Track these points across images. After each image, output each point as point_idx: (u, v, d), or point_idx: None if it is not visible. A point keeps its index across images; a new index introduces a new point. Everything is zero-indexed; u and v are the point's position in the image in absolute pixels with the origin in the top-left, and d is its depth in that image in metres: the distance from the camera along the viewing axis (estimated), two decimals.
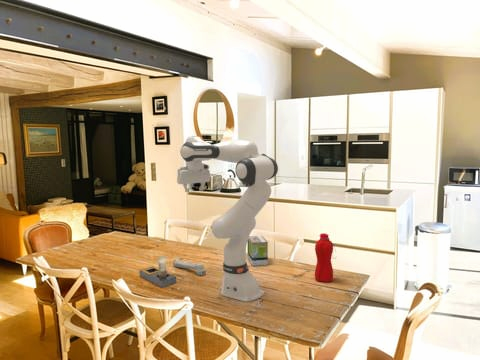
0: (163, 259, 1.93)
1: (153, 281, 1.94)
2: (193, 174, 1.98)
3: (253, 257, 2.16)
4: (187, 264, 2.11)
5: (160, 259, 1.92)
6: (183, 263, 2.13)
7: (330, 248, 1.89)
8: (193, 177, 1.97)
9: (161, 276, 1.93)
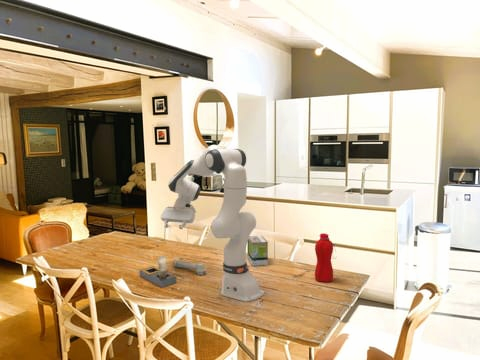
0: (163, 259, 1.93)
1: (153, 281, 1.94)
2: (175, 212, 2.09)
3: (253, 257, 2.16)
4: (187, 264, 2.11)
5: (160, 259, 1.92)
6: (183, 263, 2.13)
7: (330, 248, 1.89)
8: (174, 214, 2.08)
9: (161, 276, 1.93)
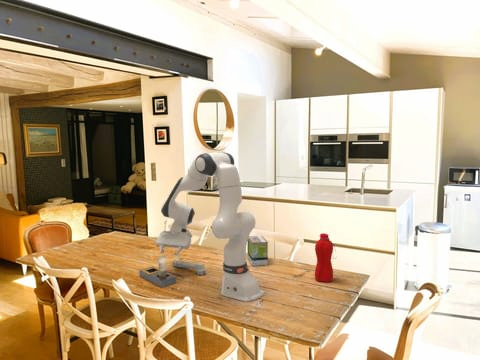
0: (163, 259, 1.93)
1: (153, 281, 1.94)
2: (171, 237, 2.05)
3: (253, 257, 2.16)
4: (187, 264, 2.11)
5: (160, 259, 1.92)
6: (183, 263, 2.13)
7: (330, 248, 1.89)
8: (169, 239, 2.04)
9: (161, 276, 1.93)
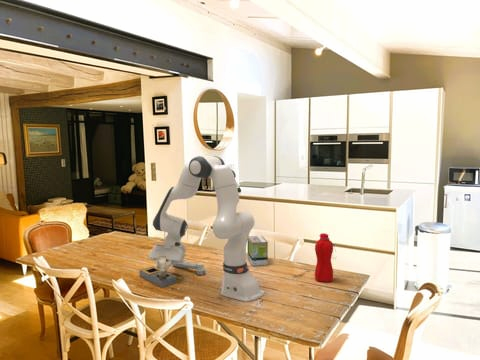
0: (163, 259, 1.93)
1: (153, 281, 1.94)
2: (164, 250, 1.99)
3: (253, 257, 2.16)
4: (187, 264, 2.11)
5: (160, 259, 1.92)
6: (183, 263, 2.13)
7: (330, 248, 1.89)
8: (163, 253, 1.98)
9: (161, 276, 1.93)
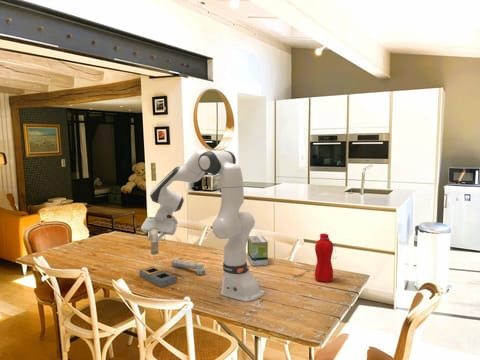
0: (155, 230, 1.96)
1: (153, 281, 1.94)
2: (156, 223, 2.02)
3: (253, 257, 2.16)
4: (186, 264, 2.11)
5: (152, 230, 1.95)
6: (182, 263, 2.14)
7: (330, 248, 1.89)
8: (155, 225, 2.01)
9: (153, 247, 1.96)
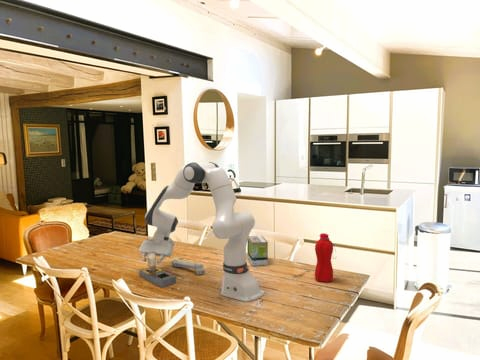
0: (152, 255, 2.00)
1: (153, 281, 1.94)
2: (154, 245, 2.07)
3: (253, 257, 2.16)
4: (186, 263, 2.12)
5: (149, 255, 2.00)
6: (182, 263, 2.14)
7: (330, 248, 1.89)
8: (152, 247, 2.06)
9: (150, 271, 2.01)
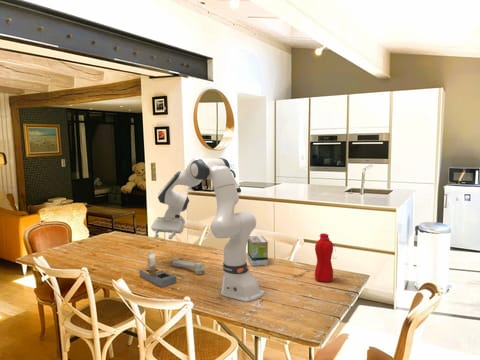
0: (152, 254, 2.00)
1: (153, 281, 1.94)
2: (165, 222, 2.18)
3: (253, 257, 2.16)
4: (186, 263, 2.12)
5: (149, 254, 2.00)
6: (182, 262, 2.14)
7: (330, 248, 1.89)
8: (164, 224, 2.17)
9: (150, 271, 2.01)
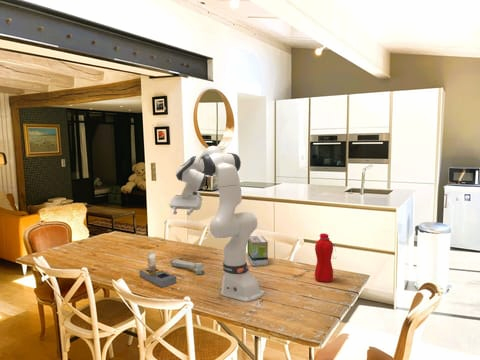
0: (152, 254, 2.00)
1: (153, 281, 1.94)
2: (183, 199, 2.23)
3: (253, 257, 2.16)
4: (186, 263, 2.12)
5: (149, 254, 2.00)
6: (181, 262, 2.14)
7: (330, 248, 1.89)
8: (182, 201, 2.22)
9: (150, 271, 2.01)
